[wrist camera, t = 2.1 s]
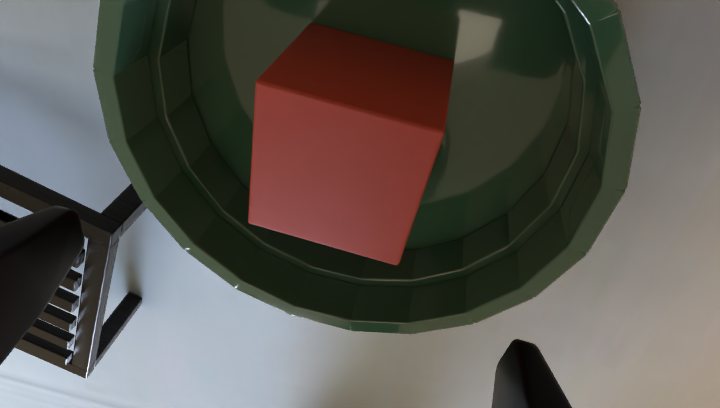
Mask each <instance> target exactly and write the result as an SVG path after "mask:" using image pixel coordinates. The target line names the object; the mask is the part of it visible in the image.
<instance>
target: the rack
mask: <svg viewBox="0 0 720 408" xmlns="http://www.w3.org/2000/svg"><path fill="white" fill-rule="evenodd" d="M0 197H2V198H4V199H7V200H9V201H11V202H13V203H15V204H17V205H19V206H21V207H23V208H25V209H28V210H30V211H32V212H34V213H35V212H38V211H41V210H44V209H46V208H49V207H52V206H61V207H65V208H68V209H72V210H74V211H76V212H77V213H78V215H79V218H80V222H81V226H82V230H83V234H84V236H85V237H87V238H89V239H88V244H87V252H86V260H85V267H84V275H83V283H82V290H81V298H80V306H79V313H78V321H77V329H76V336H75V344H74V352H73V351H71V350H69V348H70V347H71V345H72V344H73V343H74V334H71V333H69V332H70V331H71V330H72V329H73V328H74V327H75V326H76V319H77V317H76V316H74V315H72V314H70V313H68V312H66V311H69V312H71V313H72V312H73V311H74V310H75V309H76V308H77V307H78V304H79V296H77V295H75V294H73V293H71V292H68V291H66V290H64V289H62V288H60V287H58V289H57V290H56V292H55V294H54V295H53V297H52V298H51V300H50V301H49V303H51V304H53V305H55V306H58V307H60V308H62V309H64V310H66V311H63V310H61V309H59V308H57V307H54V306H52V305H50V304H47V306H46V307H45V309H44V310H43V312H42V313H41V314H40V316H39V317H38V318H39V319H38V318H37V320H36V321H35V322H34V324H33V325H32V326H31V327H30V329H29V330H28V331H27V332H26V334H25V335H24V336H23V337H22V339H21V340H20V341H19V342H18V344H17V345H16V346H15V348H17V349H19V350H22V351H24V352H26V353H29V354H31V355H33V356H35V357H38V358H40V359H42V360H45V361H47V362H49V363H51V364H54V365H56V366H58V367H61V368H63V369H65V370H67V371H70V372H72V373H74V374H77V375H79V376H81V377H83V378H87V377H88V376H89V375H90V373H91V372H92V371H93V369H94V367H95V366H96V365H97V364H98V362H99V361H100V360H101V358H102V357H103V356H104V354H105V353H106V352H107V350H108V349H109V347H110V346H111V345H112V343H113V342H114V341H115V339H116V338H117V337H118V335H119V334H120V332H121V331H122V330H123V328H124V327H125V326H126V324H127V323H128V322H129V320H130V319H131V318H132V316H133V315H134V313H135V312H136V311H137V309H138V308H139V307H140V304H141V301H142V298H141V297H139V296H137V295H135V294H132V293H130V292H129V293H128V294H127V295H126V296H125V297H124V299H123V300H122V301H121V302H120V304H119V305H118V306H117V308H116V309H115V310H114V311H113V313H112V314H111V315H110V317H109V318H108V319H107V320H106V322H105V323H104V324H103V319H104V314H105V309H106V304H107V299H108V293H109V288H110V283H111V278H112V273H113V268H114V263H115V257H116V252H117V247H118V242H119V237H120V236H122V234H123V233H124V232H125V231H126V230H127V229H128V228H129V227H130V226H131V225H132V223H133V222H134V221H135V220H136V219H137V218H138V217H139V216H140V215H141V214H142V213H143V211H144V210H145V209H146V208H147V207H146V206H145V205H144V204H143V203H142V201H141V200H140V198H139V196H138V194H137V193H136V191H135V189H134V187H133V185H132V183H131V184H130V185H129V186H128V187H127V188H126V189H125V190H124V191H123V192H122V193H121V194H120V195H119V196H118V197H117V198H116V199H115V200H114V201H113V202H112V203H111V204H110V205H109V206H108V207H107V208H106V209H105V210H104V211H103V212H102V213H99V212H97V211H95V210H92V209H90V208H88V207H86V206H84V205H82V204H80V203H78V202H76V201H74V200H72V199H70V198H68V197H66V196H63V195H61V194H59V193H57V192H55V191H53V190H51V189H49V188H47V187H45V186H43V185H41V184H39V183H37V182H34V181H32V180H30V179H28V178H26V177H24V176H22V175H20V174H18V173H16V172H14V171H12V170H10V169H7V168H5V167H3V166H1V165H0ZM16 219H19V218H17V217H15V216H13V215H11V214H9V213H6V212H4V211H2V210H0V225H3V224H6V223H8V222H11V221H14V220H16ZM84 257H85V249H82V251H81V253H80V255H79V256H78V258H77V259H76V261H75V262H74V264H73V267H75V268H78V267H79V266H80V265H81V264H82V263H83V262H84ZM81 280H82V274H80V273H78V272H76V271H74V270H72V269H70V270H69V272H68V273H67V275H66V276H65V278H64V280H63V281H62V283H61V284H60V285H61V286H63V287H65V288H67V289H69V290H71V291H76V290H77V288H78V287H79V286H80V285H81ZM40 319H41V320H40ZM42 320H44V321H42ZM45 321H46V322H45ZM47 322H48V323H47ZM49 323H50V324H49ZM51 324H53V325H51ZM102 324H103V325H102ZM54 325H55V326H54ZM56 326H57V327H56ZM58 327H59V328H58ZM60 328H62V329H64V330H62V329H60ZM65 330H66V331H65ZM67 331H68V332H67Z"/></svg>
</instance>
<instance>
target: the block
mask: <svg viewBox="0 0 720 408" xmlns="http://www.w3.org/2000/svg"><path fill="white" fill-rule="evenodd" d="M453 68H454V61H453V60H450V59H446V58H442V57H439V56H435V55H431V54H427V53H424V52H420V51H416V50H412V49H409V48H405V47H401V46H397V45H394V44H390V43H386V42H382V41H379V40H375V39H371V38H367V37H364V36H360V35H356V34H352V33H349V32H345V31H341V30H337V29H334V28H330V27H326V26H322V25H319V24H315V23H310V24H309V25H308V26H307V27H306V28H305V29H304V30H303V31H302V32H301V33H300V34H299V35H298V37H297V38H296V39H295V40H294V41H293V42H292V43H291V44H290V45H289V46H288V47H287V48H286V49H285V50H284V51H283V52H282V54H281V55H280V56H279V57H278V58H277V59H276V60H275V61H274V62H273V63H272V64H271V65H270V66H269V67H268V68H267V69H266V71H265V72H264V73H263V74H262V75H261V76H260V77H259V78H258V79H257V80H256V85H255V103H254V122H253V140H252V158H251V177H250V195H249V213H248V222H249V223H250V224H254V225H257V226H261V227H264V228H267V229H271V230H274V231H278V232H281V233H285V234H288V235H292V236H295V237H299V238H302V239H306V240H309V241H313V242H316V243H320V244H323V245H327V246H330V247H334V248H337V249H341V250H344V251H347V252H351V253H354V254H358V255H361V256H365V257H368V258H372V259H375V260H379V261H382V262H386V263H389V264H393V265H398V264H399V263H400V260H401V257H402V254H403V251H404V248H405V245H406V242H407V240H408V237H409V234H410V231H411V228H412V225H413V222H414V219H415V217H416V214H417V211H418V208H419V205H420V202H421V199H422V197H423V194H424V191H425V188H426V185H427V182H428V179H429V176H430V174H431V171H432V168H433V165H434V162H435V159H436V156H437V154H438V151H439V148H440V145H441V142H442V139H443V136H444V133H445V126H446V119H447V111H448V104H449V97H450V90H451V82H452V75H453Z"/></svg>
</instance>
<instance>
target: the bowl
mask: <svg viewBox="0 0 720 408" xmlns="http://www.w3.org/2000/svg"><path fill="white" fill-rule="evenodd" d="M310 23H315V24H319V25H322V26H326V27H330V28H334V29H337V30H341V31H345V32H349V33H352V34H356V35H360V36H364V37H367V38H371V39H375V40H379V41H382V42H386V43H390V44H394V45H397V46H401V47H405V48H409V49H412V50H416V51H420V52H424V53H427V54H431V55H435V56H439V57H442V58H446V59H450V60H453V61H454V68H453V75H452V82H451V90H450V97H449V104H448V111H447V119H446V126H445V133H444V136H443V139H442V142H441V145H440V148H439V151H438V154H437V156H436V159H435V162H434V165H433V168H432V171H431V174H430V176H429V179H428V182H427V185H426V188H425V191H424V194H423V197H422V199H421V202H420V205H419V208H418V211H417V214H416V217H415V219H414V222H413V225H412V228H411V231H410V234H409V237H408V240H407V242H406V245H405V248H404V251H403V254H402V257H401V260H400V263H399V264H398V265H393V264H389V263H386V262H382V261H379V260H375V259H372V258H368V257H365V256H361V255H358V254H354V253H351V252H347V251H344V250H341V249H337V248H334V247H330V246H327V245H323V244H320V243H316V242H313V241H309V240H306V239H302V238H299V237H295V236H292V235H288V234H285V233H281V232H278V231H274V230H271V229H267V228H264V227H261V226H257V225H254V224H250V223H249V222H248V213H249V195H250V177H251V158H252V140H253V122H254V103H255V85H256V80H257V79H258V78H259V77H260V76H261V75H262V74H263V73H264V72H265V71H266V69H267V68H268V67H269V66H270V65H271V64H272V63H273V62H274V61H275V60H276V59H277V58H278V57H279V56H280V55H281V54H282V52H283V51H284V50H285V49H286V48H287V47H288V46H289V45H290V44H291V43H292V42H293V41H294V40H295V39H296V38H297V37H298V35H299V34H300V33H301V32H302V31H303V30H304V29H305V28H306V27H307V26H308V25H309V24H310ZM93 67H94V70H93V72H94V76H95V81H96V85H97V90H98V94H99V99H100V103H101V107H102V112H103V116H104V121H105V125H106V130H107V134H108V139H109V142H110V144H111V146H112V147H113V149H114V151H115V153H116V155H117V157H118V159H119V161H120V162H121V164H122V166H123V168H124V170H125V172H126V174H127V176H128V178H129V179H130V181H131V183H132V185H133V187H134V189H135V191H136V193H137V194H138V196H139V198H140V200H141V201H142V203H143V204H144V205H145V206H146V207H147V208H148V209H149V211H150V212H151V213H152V214H153V215H154V216H155V217H156V218H157V220H158V221H159V222H160V223H161V224H162V225H163V226H164V228H165V229H166V230H167V231H168V232H169V233H170V234H171V236H172V237H173V238H174V239H175V240H176V241H177V242H178V244H179V245H180V246H181V247H182V248H183V249H184V250H186V252H188V253H189V254H190V255H192V256H193V257H194V258H196V259H197V260H198V261H200V262H201V263H202V264H204V265H205V266H206V267H208V268H209V269H210V270H212V271H213V272H214V273H216V274H217V275H218V276H220V277H221V278H222V279H224V280H225V281H226V282H228V283H229V284H230V285H232V286H233V287H235V288H236V289H237V290H239V291H241V292H244V293H246V294H248V295H250V296H252V297H254V298H256V299H258V300H260V301H262V302H264V303H266V304H269V305H271V306H273V307H275V308H277V309H279V310H281V311H283V312H285V313H287V314H289V315H293V316H296V317H300V318H304V319H308V320H312V321H316V322H320V323H323V324H327V325H331V326H335V327H339V328H343V329H346V330H351V331H363V332H381V333H399V334H412V333H413V334H416V333H422V332H428V331H434V330H441V329H447V328H453V327H459V326H465V325H471V324H474V323H477V322H480V321H482V320H484V319H487V318H489V317H491V316H494V315H496V314H498V313H500V312H503V311H505V310H507V309H510V308H512V307H514V306H517V305H519V304H521V303H524V302H526V301H528V300H531V299H532V298H533V297H536V296H537V295H538V294H540V293H541V292H542V291H543V290H544V289H546V288H547V287H548V286H549V285H550V284H552V283H553V282H554V281H555V280H556V279H558V278H559V277H560V276H561V275H563V274H564V273H565V272H566V271H567V270H569V269H570V268H571V267H572V266H573V265H575V264H576V263H577V262H578V261H579V260H581V259H582V258H583V257H584V256H585V255H586V253H588V252H589V250H590V248H591V247H592V245H593V243H594V242H595V240H596V238H597V237H598V235H599V233H600V232H601V230H602V229H603V227H604V225H605V224H606V222H607V220H608V219H609V217H610V215H611V214H612V212H613V210H614V209H615V207H616V206H617V204H618V202H619V201H620V199H621V197H622V196H623V194H624V192H625V189H626V188H627V184H628V178H629V173H630V167H631V161H632V156H633V150H634V144H635V138H636V133H637V127H638V121H639V116H640V110H641V107H640V104H641V101H640V97H639V92H638V88H637V83H636V79H635V74H634V70H633V65H632V61H631V56H630V52H629V48H628V43H627V39H626V34H625V30H624V25H623V21H622V16H621V12H620V10H619V9H618V5H617V4H616V3H615V1H614V0H100V7H99V17H98V27H97V36H96V46H95V55H94V65H93Z"/></svg>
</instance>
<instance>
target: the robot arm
mask: <svg viewBox="0 0 720 408" xmlns="http://www.w3.org/2000/svg"><path fill="white" fill-rule="evenodd" d="M84 242H85V239H84V234H83V230H82V226H81V222H80V218H79V215H78V213H77V212H76V211H74V210H72V209H68V208H65V207H61V206H52V207H49V208H46V209H44V210H41V211H38V212H35V213H33V214H30V215H27V216H25V217H22V218H19V219H16V220H14V221H11V222H8V223H6V224H3V225H0V365H1V364H2V362H3V361H4V360H5V359H6V357H7V356H8V355H9V354H10V352H11V351H12V350H13V349H14V347H15V346H16V345H17V344H18V342H19V341H20V340H21V339H22V337H23V336H24V335H25V334H26V332H27V331H28V330H29V329H30V327H31V326H32V325H33V324H34V322H35V321H36V320H37V318H38V317H39V316H40V314H41V313H42V312H43V310H44V309H45V307H46V306H47V304H48V303H49V301H50V300H51V298H52V297H53V295H54V294H55V292H56V290H57V289H58V287H59V286H60V284H61V283H62V281H63V280H64V278H65V276H66V275H67V273H68V272H69V270H70V269H71V267H72V266H73V264H74V262H75V261H76V259H77V258H78V256H79V255H80V253H81V251H82V249H83V247H84ZM492 408H572V407H571V405H570V403H569V401H568V400H567V398H566V396H565V394H564V393H563V391H562V389H561V387H560V386H559V384H558V382H557V380H556V378H555V377H554V375H553V373H552V371H551V370H550V368H549V366H548V364H547V362H546V361H545V359H544V357H543V355H542V354H541V352H540V350H539V348H538V347H537V346H536V345H535V344H533V343H530V342H526V341H523V340H519V339H515V340H513V341H512V342H511V344H510V345H509V347H508V348H507V350H506V351H505V353H504V354H503V356H502V357H501V359H500V360H499V362H498V365H497V368H496V373H495V383H494V392H493V401H492Z"/></svg>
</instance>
